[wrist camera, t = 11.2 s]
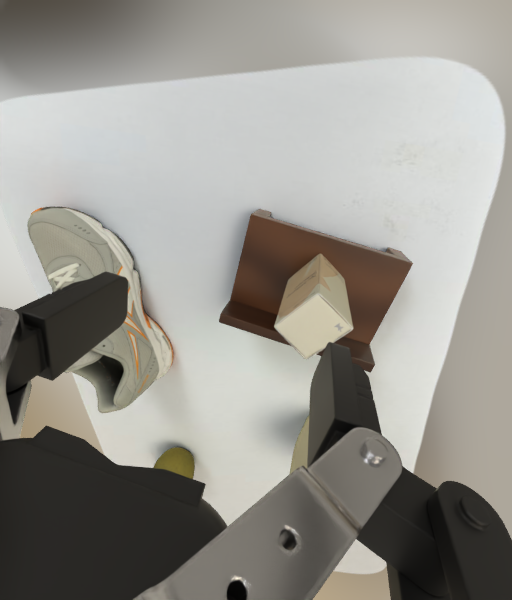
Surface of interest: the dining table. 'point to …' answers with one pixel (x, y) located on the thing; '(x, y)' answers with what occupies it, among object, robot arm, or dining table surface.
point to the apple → (177, 462)
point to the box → (314, 308)
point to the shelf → (295, 255)
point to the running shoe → (137, 326)
